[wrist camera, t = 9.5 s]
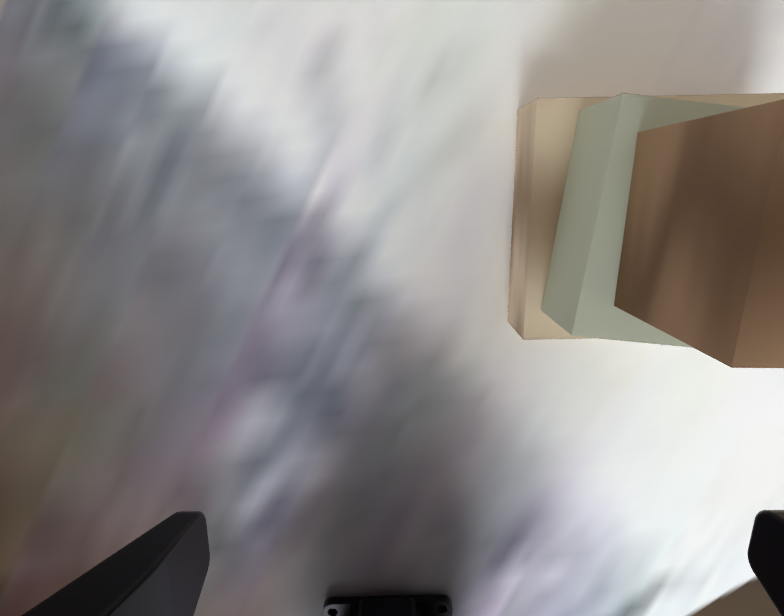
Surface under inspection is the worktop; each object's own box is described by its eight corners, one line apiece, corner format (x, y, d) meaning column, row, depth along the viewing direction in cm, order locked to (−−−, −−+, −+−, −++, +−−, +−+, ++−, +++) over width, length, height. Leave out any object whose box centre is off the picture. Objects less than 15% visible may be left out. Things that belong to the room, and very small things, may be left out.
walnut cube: (775, 307, 14) (977, 369, 9) (614, 305, 14) (731, 367, 9) (815, 134, 13) (1073, 101, 8) (637, 131, 13) (788, 98, 8)
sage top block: (722, 328, 17) (789, 356, 15) (541, 310, 17) (571, 335, 14) (781, 133, 16) (869, 121, 13) (579, 111, 15) (623, 93, 13)
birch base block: (696, 314, 20) (746, 335, 18) (504, 317, 20) (523, 339, 18) (728, 108, 18) (791, 93, 15) (513, 112, 18) (536, 98, 15)
